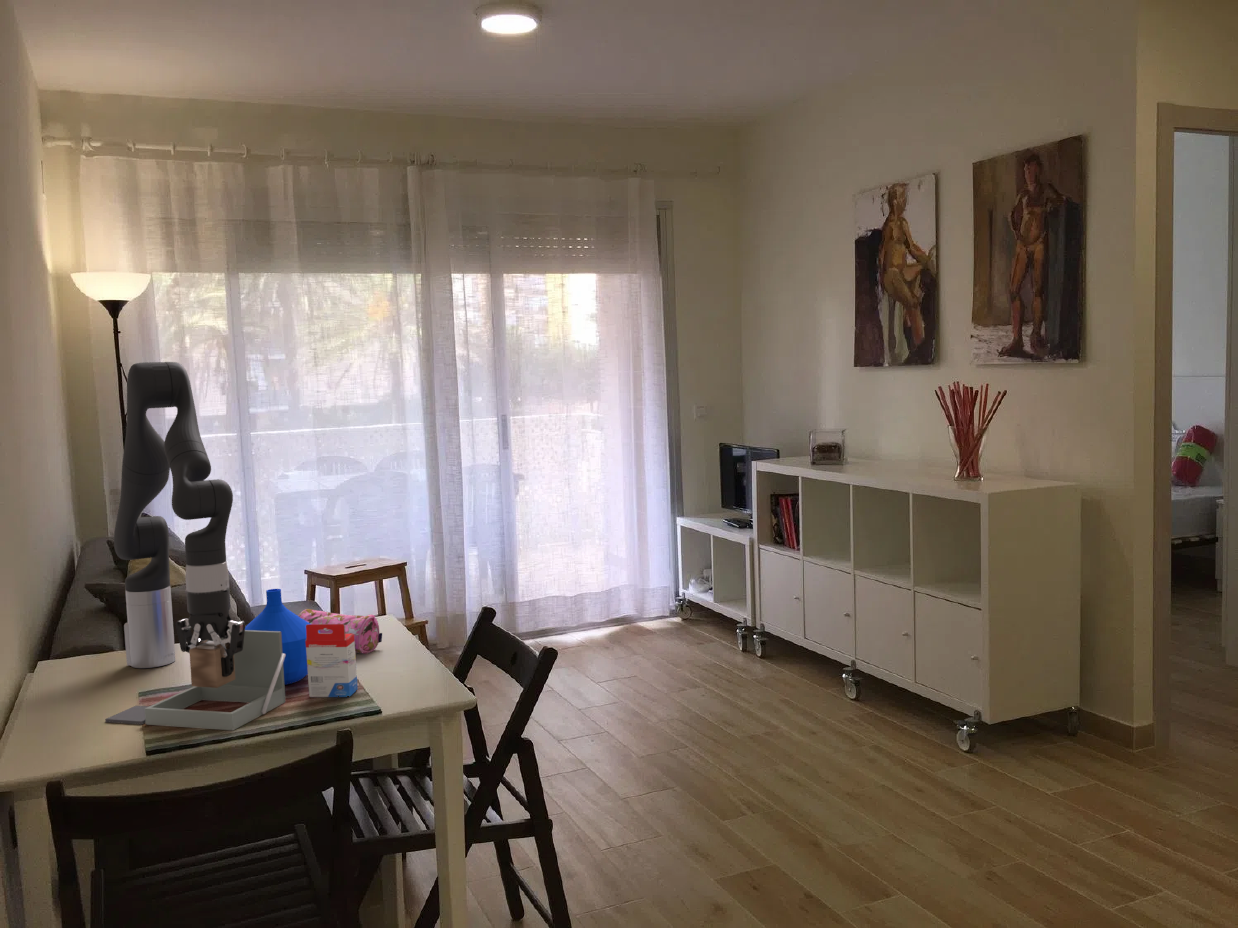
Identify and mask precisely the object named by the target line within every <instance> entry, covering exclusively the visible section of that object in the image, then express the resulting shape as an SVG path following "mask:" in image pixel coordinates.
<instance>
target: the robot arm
mask: <svg viewBox="0 0 1238 928" xmlns="http://www.w3.org/2000/svg"><path fill="white" fill-rule="evenodd" d="M193 395H194V394H193V389H192V385H191V381H190V378H189V374H188V372H187V370H186V368H185V366H184V365H183V364H182V363H180V362H176V361H156V362H155V361H153V362H150V361H149V362H145V361H144V362H136V363H134V364H132V365H131V366H130V367H129V370H128V373H127V379H126V431H125V440H124V447H123V454H122V455H123V456H122V462H121V463H122V464H121V485H120V496H119V497H120V499H119V504H118V511H117V514H116V515H117V517H116V521H115V526H114V532H113V547H114V552H115V554H116V555H117V558H119V559H120V560H124V561H132V560H133V561H135V560H142V559H151V560H150V562H149V563H148V564H147V565H145V566H144V567H143V568H141V569H140V570H138V571H136V572H133V573H132V574H129V575H128V576H127V577H126V578H125V579H124V588H125V590H124V591H125V602H126V616H127V622H125V623H124V625H123V631H124V632H123V633H124V644H125V657H126V666H131V667H132V668H136V669H151V668H157V667H162V666H166V665H170V664H172V663H174V662H175V661H176V651H175V634H174V633H175V632H174V624H175V629H176V634H177V637H178V642H179V647H180V651H181V652H182V653H184V652H186V653H187V654H189V655H190V652H189V650H190V649H192V648H195V647H197V646H198V645H200V644H203V643H205V642H207V640H210V641H213V642H214V644H215V646H216V647H218V649H220V653H221V656H222V658H221V667H222V676H223V677H227V676H229V675H231V674H232V672H233V671H234V662H233V655H234V654H236V653H238V652H241V651H242V650H243V643H244V633H245V627H246V622H245V621H244V620H241V621H235V620H233V619H232V617H231V615H230V609H231V592H230V574H229V569H228V563H227V551H226V549H227V548H226V539H227V538H226V536H227V531H228V523H229V520H230V515H231V511H232V508H233V507H232V506H233V503H234V502H233V501H234V495H233V490H232V488H231V486H230V484H229V483H228V482H226V481H225V480H223V479H218V478H217V479H208V477H209V476H210V474H211V472H212V465H211V461H210V459H209V456H208V453H207V451H206V448H205V446H204V442H203V441H202V440H203V439H202V437H201V433H200V429H199V424H198V423H199V422H198V418H197V417H198V416H197V410H196V405H195V400H194V396H193ZM163 408H176V410H177V412H176V415H175V418H174V419H173V422H172V424H171V426H170V427H169V429H168V431H167V433H166V434H165V439H163V438H162V437H161V435H160V434H159V433H158V432H157V431H156V429H155V428H154V427H153V426H152V424H151V422H150V421H149V419H148V417H147V412H148V410H149V409H163ZM170 472H171V478H172V493H171V494H172V495H171V508H172V511H173V513H174V515H176V516H177V517H178V518H179V519H182V520H185V521H191V520H199V519H209V518H210V520H209V522H208V523H207V525H206V526H205V527H203V528H201V529H198V530H195V531H192V532H189V533H188V534H187V535H186V536H185V539H184V548H185V549H184V551H185V552H184V553H185V589H186V591H185V592H186V604H187V612H188V614H189V617H188V618H182V619H179V620H176V622H175V623H174V621H173V620H174V619H173V604H172V591H171V590H172V589H171V572H170V570H171V569H170V568H171V567H170V535H169V534H170V533H169V527H168V524H167V521H166V519H165V518H164V517H163V516H161V515H153V516H152V515H151V516H141V517H140V515H141V514H142V512H143V511H144V509H145V508H146V507H147V506H148V505H149V504H151V503H152V501H153V500H154V499H156V497H157V496H158V495H160V493H161V492H162V491H163V490H164V488H165V487H166V485H167V484H168V481H169V478H170ZM228 629H230V632H231V636H230V634H229V631H228ZM192 631H193V632H192ZM221 638H224V639H223V640H221ZM225 646H227V649H226V647H225Z"/></svg>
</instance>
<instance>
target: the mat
mask: <svg viewBox="0 0 1238 928" xmlns="http://www.w3.org/2000/svg"><path fill="white" fill-rule="evenodd" d="M149 706H150V705H135V706H134V705H133V706H132V707H130V708H127V709H125V710H122V711H120V712H118V713H115V714H113V715H111V716H109V717H107V718H105V720H104V721H105V723H113V724H129V725H143V724H146V722H145V708H147V707H149Z"/></svg>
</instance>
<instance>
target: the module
mask: <svg viewBox="0 0 1238 928" xmlns="http://www.w3.org/2000/svg"><path fill="white" fill-rule="evenodd" d="M225 647H226V649H227V646H225ZM189 652H190V654H189V663H190V664H189V665H190V666H189V667H190V679H191V687H194V686H196V687H211V688H218V687H220V686H222V685H224V684H226V683H228V682H231V681H233V680H235V664H234V671H233V672H232V674H231V675H229V676H227V677H223V676H222V667H221V658H222V656H221V653H220V649H218V647H216V646H215V644H214V642H213V641H208V642H205V643H203V644H200V645H198V646H197V647H195V648H192V649H190V650H189ZM233 662H234V655H233Z"/></svg>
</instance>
